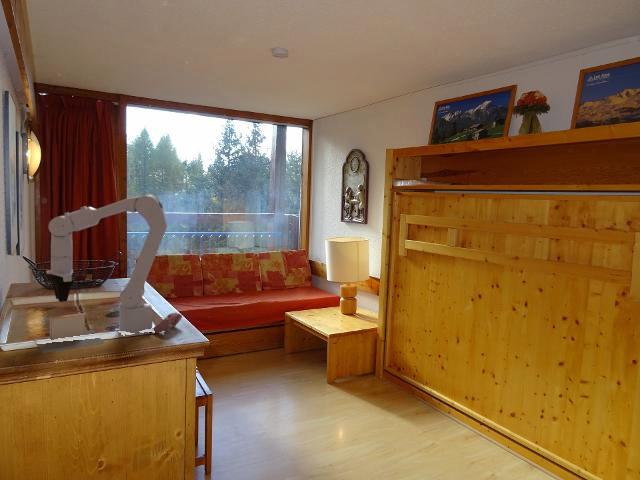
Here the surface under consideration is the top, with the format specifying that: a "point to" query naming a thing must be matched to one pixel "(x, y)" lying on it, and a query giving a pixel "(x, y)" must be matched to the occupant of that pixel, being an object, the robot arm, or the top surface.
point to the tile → (67, 326)
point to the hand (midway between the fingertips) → (61, 299)
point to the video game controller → (168, 323)
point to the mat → (68, 344)
